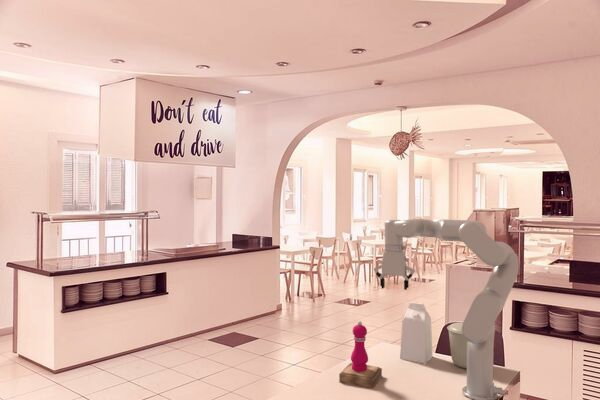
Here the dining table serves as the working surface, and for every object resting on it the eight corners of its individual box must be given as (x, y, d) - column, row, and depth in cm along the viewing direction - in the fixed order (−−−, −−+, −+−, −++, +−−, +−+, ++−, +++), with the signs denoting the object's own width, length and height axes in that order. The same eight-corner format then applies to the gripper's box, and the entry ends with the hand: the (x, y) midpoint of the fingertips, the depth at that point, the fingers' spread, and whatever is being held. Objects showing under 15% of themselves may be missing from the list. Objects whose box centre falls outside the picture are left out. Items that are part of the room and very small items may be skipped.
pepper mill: (367, 372, 191) (367, 324, 191) (349, 371, 192) (350, 323, 192) (368, 366, 198) (369, 319, 198) (351, 365, 199) (352, 318, 199)
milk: (432, 356, 223) (433, 302, 223) (425, 363, 214) (425, 307, 213) (408, 352, 230) (408, 299, 230) (399, 358, 220) (400, 303, 220)
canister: (484, 375, 200) (485, 326, 200) (442, 367, 209) (442, 320, 209) (492, 363, 215) (492, 317, 215) (452, 355, 225) (452, 312, 224)
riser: (381, 376, 198) (381, 366, 198) (372, 388, 185) (372, 378, 185) (350, 370, 204) (350, 361, 204) (339, 382, 191) (339, 372, 191)
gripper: (415, 248, 200) (416, 288, 199) (375, 247, 206) (376, 286, 206) (413, 250, 193) (413, 291, 193) (371, 248, 199) (372, 289, 199)
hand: (394, 288), depth 199 cm, fingers open, 9 cm apart
